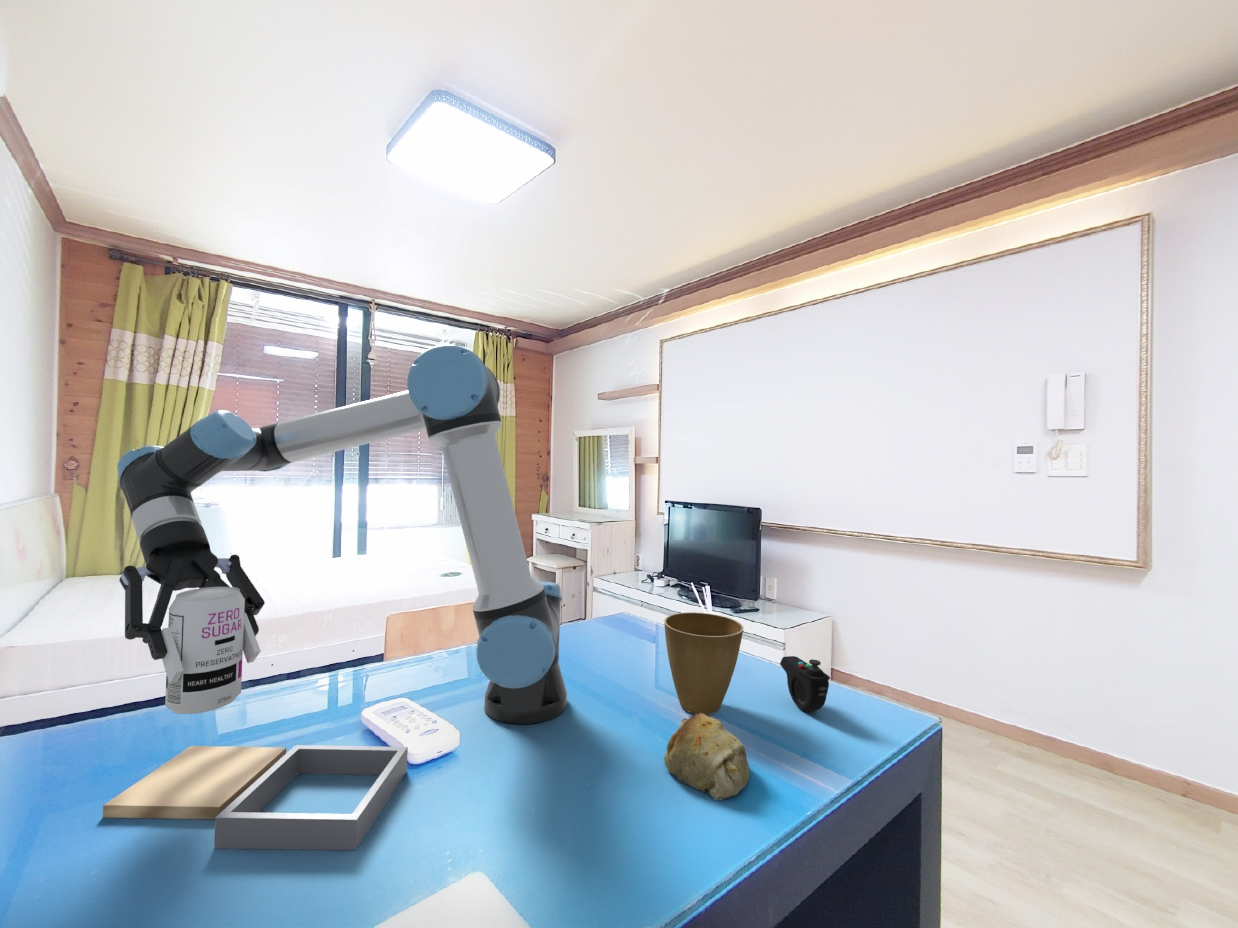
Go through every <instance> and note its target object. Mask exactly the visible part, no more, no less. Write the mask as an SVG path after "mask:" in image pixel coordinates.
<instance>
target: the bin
mask: <svg viewBox="0 0 1238 928" xmlns="http://www.w3.org/2000/svg"><path fill="white" fill-rule="evenodd" d="M408 751H409V750H408V746H376V745H375V746H372V745H370V746H368V745H367V746H366V745H365V746H364V745H319V744H317V745H316V744H315V745H314V744H312V745H311V744H295V745H294V746H293V747H292V748H290V750H289V751H286V754H285V755H284V756H283V757H282V758H281V759H280V760H278V761H277V762H276V763H275V764H274V765H273V766H272V767H271V768H270V769H269V770H267V771H266V772H265V773H264V774H263V775H262V776H261V777H260V778H259V779H257V780H256V781H255V782H254V783H253V784H252V785H251V786H250V787H249V788H247V789H246V790H245V791H244V792H243V793H242V794H241V795H240V796H239V797H238V798H236V799H235V800H234V801H233V802H232V803H231V804H230V805H229V806H228V807H226V808H225V809H224V810H223V811H222V812H221V813H220V814H219V815H218V816H216V817H215V819H214V845H213V849H235V850H236V849H238V850H239V849H240V850H241V849H243V850H244V849H245V850H246V849H247V850H249V849H250V850H256V849H257V850H315V851H316V850H317V851H318V850H320V851H322V850H323V851H324V850H328V851H330V850H331V851H356V850H357V849H358V847H359V846H360V844H361V843H362V841H363V840H364V838H365V836H366V835H367V834H368V832H369V830H370V829H371V827H372V826H373V824H374V823H375V821H376V819H377V818H378V816H379V815H380V813H381V812H382V810H383V809H384V808H385V806H386V804H387V803H388V801H389V799H390V798H391V797H392V795H393V793H394V792H395V790H396V789H397V788H398V786H399V784H400V782H401V781H402V779H403V778H404V776H405V775H406V773H407V771H408ZM299 774H305V775H306V774H309V775H310V774H314V775H316V774H317V775H319V774H320V775H367V776H368V775H369V776H370V775H371V776H373V775H375V776H377V775H378V777H377V779H376V780H375V781H374V783H373V784H372V785H371V787H370V788H369V790H368V791H367V793H366V794H365V795H364V797H363V798H362V800H360V801H359V803H358V804H357V806H356V807H355V809H354V811H353V812H352V813H317V812H316V813H313V812H261V811H262V810H263V809H264V808H265V807H266V806H267V805H268V804H269V803H270V802H271V801H272V800H273V799H274V798H275V797H276V796H277V795H278V794H279V793H280V792H281V791H283V789H284V788H285V787H286V786H287V785H288V784H290V782H291V781H292V780H293V779H294V778H295V777H296V776H297V775H299Z"/></svg>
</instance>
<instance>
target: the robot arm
mask: <svg viewBox="0 0 1238 928" xmlns="http://www.w3.org/2000/svg"><path fill="white" fill-rule="evenodd" d="M406 380H407V381H406V386H407V390H404V391H399V392H396V393H393V394H388V395H385V396H380V397H377V398H372V399H369V400H364V401H360V402H357V403H351V404H347V405H344V406H340V407H336V408H332V409H327V410H324V411H320V412H317V413H312V414H309V415H304V416H301V417H296V418H293V419H288V420H284V421H279V422H276V423H272V424H268V425H264V426H261V427H251V426H250V425H249V424H248V422H247V421H246V420H244V419H243V418H242V417H241V416H239V415H238V414H234V413H233V412H231V411H230V410H229V411H228V410H224V409H219V410H214V411H213V412H212V413H210V414H208V415H207V416H205V417H204V418H200V419H199V420H198V421H195V423H194V424H193V425H191V426H190V427H189V428H188V429H186V430H185V431H183V432H182V433H181V434H179V435H178V436H177V437H176V438H174V439H173V440H171V441H170V442H169V443H167V444H166V445H164V446H161V445H144V446H141V447H140V448H138V449H131V450H129V451H127V452H126V453H124V454H123V455H122V456H121V457H120V458H119V459H118V460H119V461H118V462H117V466H116V467H117V473H118V479H119V480H118V484H119V487H120V490H122V494H123V496H124V498H125V501H126V504H127V508H128V510H129V514H130V518H131V521H132V525H133V527H134V528H133V529H134V531H135V533H136V536H137V537H136V538H137V540H138V541H139V547H140V550H141V553H142V557H143V559H144V563H145V565H143V566H140V567H136V566H134V565H126V566H125V567H124V569H123V571H122V573H121V574H120V577H119V579H118V581H119V583H120V584H121V586H122V588H123V590H124V638H125V639H126V640H134V639H136V638H140V639H142V640H141V641H142V643H144V644H147V646H148V649H149V651H150V652H149V653H150V656H151V658H152V659H153V660H154V661H157V660H161V661H162V664H163V667H164V668H163V669H165V673H166V674H167V678H168V681H169V684H171V683H175V682H177V681H178V679H179V677H180V676H181V674H182V672H183V671H184V670H183V667H182V663H181V660H180V657H179V654H178V651H177V648H176V644H175V641H174V638H173V635H172V633H171V629H170V627H164V628H162V627H163V623H164V620H165V617H166V613H167V610H168V609H169V604H170V601H171V599H172V595H173V592H175V591H181V590H184V589H199V588H208V587H234V588H238V589H240V593H241V594H242V596H243V597H244V599H245V605H244V630H243V654H244V658H245V660H246V663H247V664H249V663H253V662H255V660H256V659H257V657H258V656H259V654H260V653H261V648H260V646H259V643H258V641H257V637H256V636H257V635H258V634H259V631H260V628H259V625H258V622H257V620H256V618H255V616H257V615H258V614H259V613H260V612H261V610H262V609H263V607H264V606H265V604H266V603H265V600H264V599H263V596H262V595H261V594H260V593H259V591H258V590H257V588H256V586H255V585H254V583H253V582H252V581H251V580H250V579H251V578H249V576H248V574H247V573H246V572H245V570H244V569H243V568H242V566H241V559H240V556H239V555H238V554H231V555H230V557H229V558H228V557H227V558H226V557H225V558H223V557H222V558H221V557H217V555H216V554H214V553H213V552H212V550H211V546H210V542H209V539H208V536H207V534H206V531H205V529H204V527H203V525H202V524H203V523H202V521H201V518H200V516H199V513H198V511H197V508H196V505H195V502H194V499H193V496H192V492H194V491H195V490H196V489H197V488H199V487H201V486H202V485H204V484H205V483H206V482H208V481H209V480H210V479H212V478H214V477H215V476H216V475H217V474H219V473H221V472H241V471H242V472H244V471H245V472H246V471H247V472H249V471H251V472H254V471H255V472H256V471H257V472H271V471H276V470H280V469H283V468H284V467H286V466H288V465H289V464H291V463H295V462H300V461H304V460H308V459H312V458H315V457H320V456H324V455H328V454H333V453H335V452H339V451H343V450H348V449H351V448H355V447H360V446H363V445H367V444H370V443H371V444H372V443H375V442H380V441H383V440H388V439H392V438H396V437H400V436H404V435H407V434H411V433H415V432H419V431H423V430H426V434H427V437H428V441H430V443H433V444H434V445H436V446H438V447H439V448H440V449H441V451H442V454H443V458H444V463H445V467H446V471H447V475H448V478H449V482H450V486H451V490H452V494H453V499H454V501H455V506H456V510H457V513H458V517H459V521H460V525H461V529H462V533H463V537H464V541H465V545H466V549H467V553H468V556H469V560H470V564H471V569H472V572H473V575H474V580H475V584H476V588H477V591H478V595H477V598H476V599H475V601H474V602H473V604H472V606H471V607H472V612H473V617H474V620H475V624H476V629H477V632H478V636H479V637H478V639H477V643H476V660H477V664H478V666H479V668H480V671H481V672H482V674H483V675H484V676H485V677H486V678H487V679H488V680H489V682H488V685H487V688H486V691H485V694H484V703H483V704H484V705H483V707H484V708H483V709H484V712H485V714H486V715H488V716H489V717H490V718H491V719H494V720H496V721H498V722H502V723H507V724H516V725H517V724H518V725H526V724H527V725H529V724H536V723H541V722H542V723H543V722H546V721H549V720H551V719H554V718H556V717H557V716H560V715H561V714H562V713H564V712H565V710H566V708H567V701H568V700H567V699H568V694H567V693H568V692H567V688H566V685H565V682H564V678H563V675H562V671H561V667H560V663H559V662H560V661H559V659H560V657H559V656H560V655H559V654H560V635H561V633H560V629H561V627H560V626H561V602H562V599H563V598H562V596H561V594H562V592H561V589H562V588H561V587H560V585H559V584H558V583H556V582H551V581H541V580H540V581H539V580H535V579H534V578H533V577H532V575H531V569H530V567H529V563H528V558H527V554H526V551H525V547H524V544H523V543H524V542H523V540H522V538H523V537H522V535H521V531H520V528H519V523H518V519H517V516H516V512H515V508H514V504H513V501H512V495H511V493H510V488H509V484H508V480H507V476H506V473H505V470H504V469H505V468H504V464H503V461H502V457H501V453H500V449H499V445H498V441H497V437H496V436H497V434H498V431H499V430H500V429H501V426H502V425H503V423H502V419H501V415H500V411H499V406H498V405H499V402H500V399H501V398H500V397H501V396H500V395H501V389H500V384H499V382H498V381H499V380H498V379H497V377H496V376H495V374H494V373H493V371H492V370H491V369H490V368H489V367H488V366H486V364H484V361H482V359H481V358H480V356H478V355H477V354H476V353H474V352H473V351H472V350H470V349H467V348H464V347H463V346H459V345H455V344H449V343H448V344H439V345H435V346H433V347H430V348H428V349H426V350H424V351H423V352H422V353H420V354H419V355H418V356H417V357H416V359H415V360H414V361H413V363H412V365H411V366H410V369H409V371H408V374H407V379H406ZM215 568H218V569H220V570H221V574H222V575H225V577H226V579H227V581H228V583H229V584H230V585H231V586H230V585H228V584H227V582H225V581H224V580H223V579H222V577H221V574H220V573H219V572H218V571H217V570H216V569H215ZM146 577H147V578H149V579H151V580H152V581H154V582H156V583H158V584H159V585H160V587H159V590H158V593H157V595H156V601H155V603H154V606H153V609H152V612H151V614H150V615H151V616H150V618H149V620H148V622H147V623H146V622H145V623H144V619H143V618H144V616H143V614H144V611H143V609H144V608H143V607H144V606H143V602H144V601H143V599H144V598H143V582H144V581H145V578H146Z"/></svg>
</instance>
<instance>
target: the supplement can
mask: <svg viewBox="0 0 1238 928" xmlns="http://www.w3.org/2000/svg"><path fill="white" fill-rule="evenodd" d="M244 605H245V599H244V597H243V596H242V594H241V593H240V589H238V588H234V587H232V586H230V587H208V588H192V589H189V590H185V591H181V592H179V593H176V595H175V598H174V600H173V601H172V603H171V604H170V606H169V607H168V625H167V626H168V627H170V629H171V633H172V635H173V638H174V641H175V644H176V648H177V651H178V654H179V657H180V660H181V663H182V667H183V670H184V671H183V672H182V674H181V676H180V677H179V679H178V681H177V682H175V683H171V684H169V681H168V678H167V674H166V677H165V699H164V700H165V701H164V703H165V704H164V705H165V707H166V708H167V710H171V712H173V713H174V714H179V715H194V714H202V713H206V712H210V711H211V712H212V711H215V710H218V709H221V708H223V707H226V706H228V705H230V704H232V703H233V702H234V701H235V700H236V699H237V697H238V696H239V695H240V694H242V681H243V679H242V677H243V674H242V673H243V654H244V652H243V630H244ZM168 627H167V628H168Z"/></svg>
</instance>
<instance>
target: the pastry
mask: <svg viewBox="0 0 1238 928" xmlns="http://www.w3.org/2000/svg"><path fill="white" fill-rule="evenodd" d="M747 757H748V756H747V750H746V746H744V744H743V743H742V742H741V740H740V739H739V738H738V737H736V736H734V735H733V734H732V733H730V732H729V731H728V730H727V729H726V728H725V727H724V725H723V724H722V722H721V721H720V720H718V719H716V718H714V717H712V716H709V715H705V714H704V713H699V714H694V715H691V716H690V717H689V718H688V719H687V718H685V717H684V718H683V719H682V720H681V724H680V726H679V727H678V729H677V730H676V731H675V732H674V733H673V734H672V735H671V736H670V738H669V740H668V743H667V746H666V751H665V752H664V756H663V760H664V761H663V762H664V766H665V768H666V769H667V771H668V773H670V774H671V775H673V776H674V777H676V778H677V780H678V781H680V782H681V783H683V784H685V785H687V786H690V787H691V788H693V789H695V790H698V791H699V790H700V791H699V792H702V791H703V793H706V794H709V793H710V794H709V796H711V797H712V799H713V800H715V799H716V800H715V801H721V800H720V799H723V800H725V799H728V798H731V797H734V796H735V797H736V796H737V795H738V794H739V793H740V792H741V791H742V790H743V789H744V788H745V787H746V786H748V783H749V780H750V779H749V778H750V765H749V762H748V758H747ZM711 797H710V798H711Z"/></svg>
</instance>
